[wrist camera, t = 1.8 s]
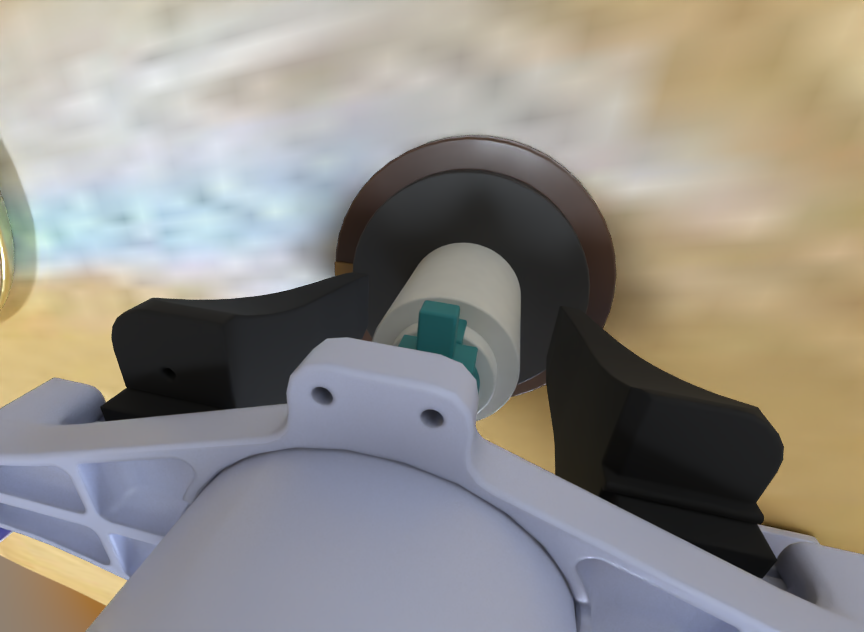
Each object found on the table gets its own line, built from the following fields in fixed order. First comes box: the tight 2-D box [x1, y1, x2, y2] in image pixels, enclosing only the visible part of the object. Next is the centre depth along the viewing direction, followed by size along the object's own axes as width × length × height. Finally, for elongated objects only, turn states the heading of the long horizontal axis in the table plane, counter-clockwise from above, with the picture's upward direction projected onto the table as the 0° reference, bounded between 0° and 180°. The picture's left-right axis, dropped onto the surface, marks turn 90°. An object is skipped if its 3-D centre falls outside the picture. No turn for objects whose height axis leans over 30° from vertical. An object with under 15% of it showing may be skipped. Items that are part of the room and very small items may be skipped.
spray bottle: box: [353, 169, 590, 421], centre depth 13 cm, size 9×9×8 cm
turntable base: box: [335, 135, 616, 397], centre depth 16 cm, size 11×11×1 cm
